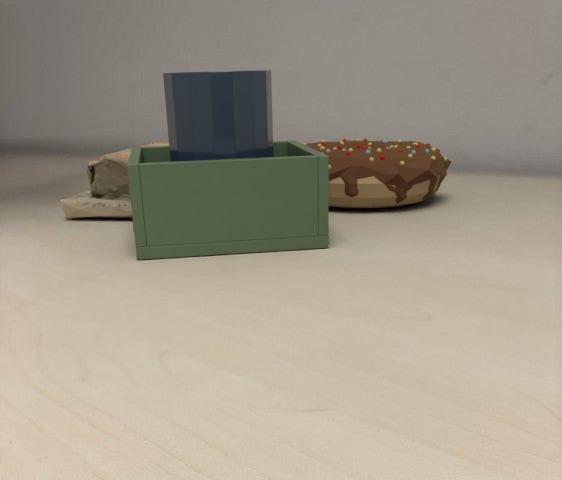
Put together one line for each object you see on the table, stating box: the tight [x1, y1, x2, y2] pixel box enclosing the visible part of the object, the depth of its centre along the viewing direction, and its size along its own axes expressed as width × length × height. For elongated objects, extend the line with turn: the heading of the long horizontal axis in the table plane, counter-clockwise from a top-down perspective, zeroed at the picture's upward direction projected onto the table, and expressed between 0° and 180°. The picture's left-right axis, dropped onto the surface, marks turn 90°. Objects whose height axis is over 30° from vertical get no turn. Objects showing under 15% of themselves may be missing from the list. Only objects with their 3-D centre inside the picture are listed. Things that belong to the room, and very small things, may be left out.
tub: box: [127, 140, 330, 260], centre depth 49 cm, size 12×11×6 cm
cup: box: [162, 69, 274, 162], centre depth 48 cm, size 7×7×10 cm
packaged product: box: [60, 141, 169, 219], centre depth 63 cm, size 18×5×10 cm
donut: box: [302, 137, 452, 209], centre depth 61 cm, size 14×14×5 cm
